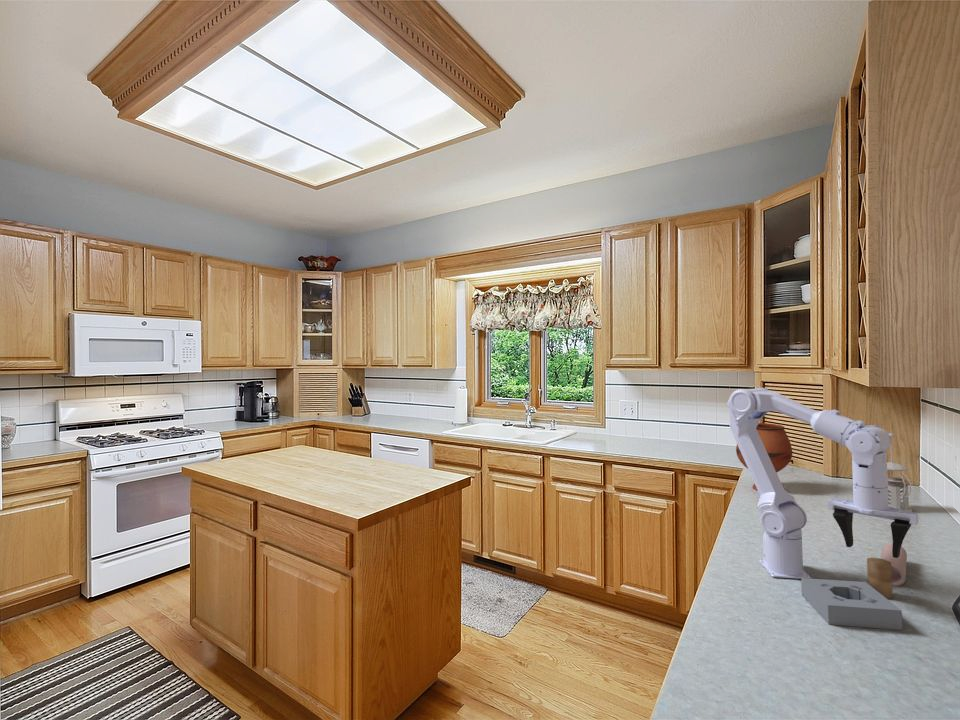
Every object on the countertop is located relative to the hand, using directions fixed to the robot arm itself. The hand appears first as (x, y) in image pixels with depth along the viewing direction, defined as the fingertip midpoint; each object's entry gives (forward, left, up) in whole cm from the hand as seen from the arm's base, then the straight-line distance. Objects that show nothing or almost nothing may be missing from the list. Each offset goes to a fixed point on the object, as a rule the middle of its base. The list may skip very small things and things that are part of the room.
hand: (872, 551), depth 101 cm
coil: (-16, +12, -11) cm, 23 cm away
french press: (-71, +41, -10) cm, 82 cm away
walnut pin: (-4, +3, -10) cm, 11 cm away
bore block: (+5, -7, -10) cm, 14 cm away
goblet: (-94, +9, -10) cm, 95 cm away
